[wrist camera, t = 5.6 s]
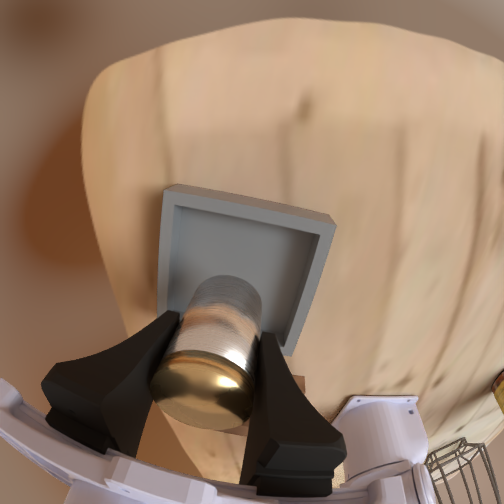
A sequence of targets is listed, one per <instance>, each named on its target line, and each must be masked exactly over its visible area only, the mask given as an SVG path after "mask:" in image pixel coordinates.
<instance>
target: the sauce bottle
mask: <svg viewBox="0 0 504 504" xmlns="http://www.w3.org/2000/svg"><path fill="white" fill-rule="evenodd" d="M492 392H493V393H494V397H495V399H496V400H497V402H498V404H499V406H500V408H501V410H502V412H503V414H504V371H503V372H502V373H501V374H500V375H499V376H498V378H497V379H496V380H495V382H494V384H493V386H492Z"/></svg>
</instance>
